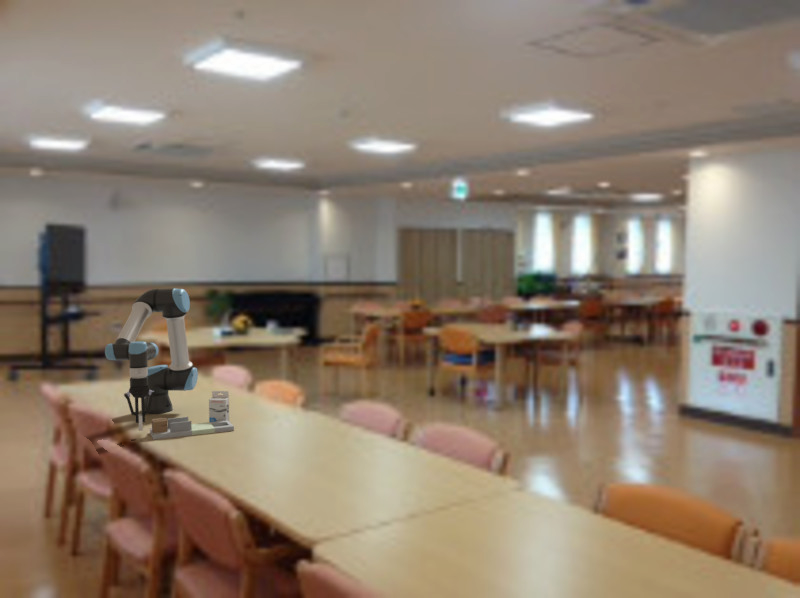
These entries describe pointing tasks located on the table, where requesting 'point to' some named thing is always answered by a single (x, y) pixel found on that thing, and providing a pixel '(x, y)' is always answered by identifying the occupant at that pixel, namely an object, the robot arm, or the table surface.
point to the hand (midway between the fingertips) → (140, 429)
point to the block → (159, 425)
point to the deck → (191, 428)
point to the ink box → (219, 406)
